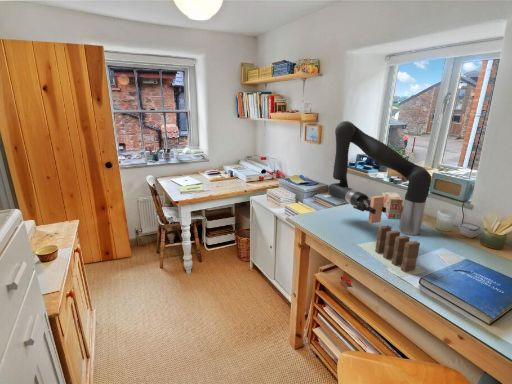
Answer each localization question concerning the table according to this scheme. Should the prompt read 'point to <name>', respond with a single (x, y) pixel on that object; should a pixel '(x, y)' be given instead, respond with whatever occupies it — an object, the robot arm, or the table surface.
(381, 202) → the loose domino
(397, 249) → the domino
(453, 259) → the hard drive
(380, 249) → the domino
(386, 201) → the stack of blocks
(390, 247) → the domino
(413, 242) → the domino
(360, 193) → the robot arm
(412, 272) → the domino mat
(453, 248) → the table surface
